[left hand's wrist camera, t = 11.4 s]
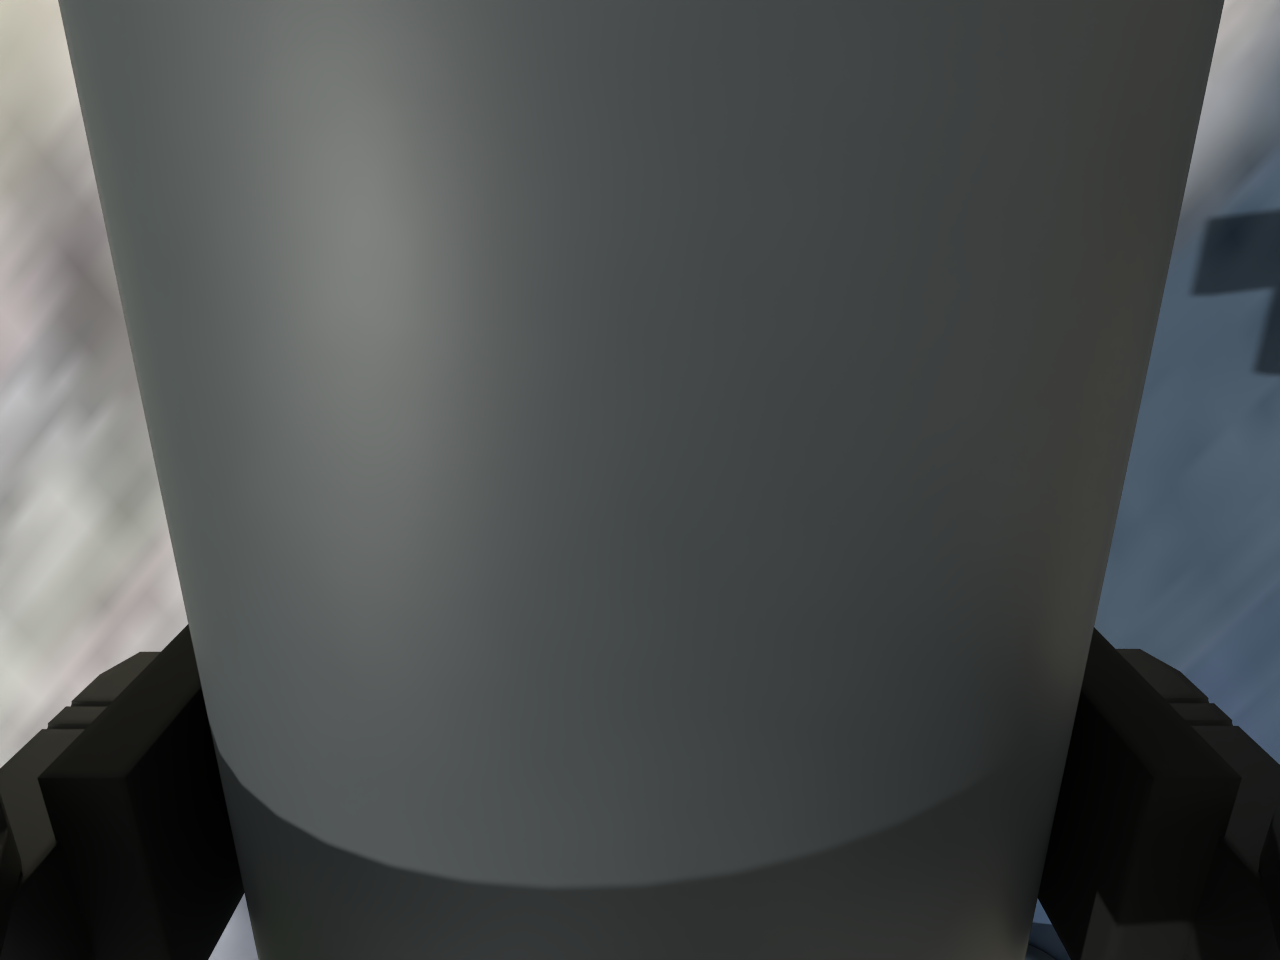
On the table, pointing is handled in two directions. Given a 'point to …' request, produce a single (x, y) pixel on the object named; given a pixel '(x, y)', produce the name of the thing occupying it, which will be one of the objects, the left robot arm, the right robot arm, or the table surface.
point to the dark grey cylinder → (641, 446)
